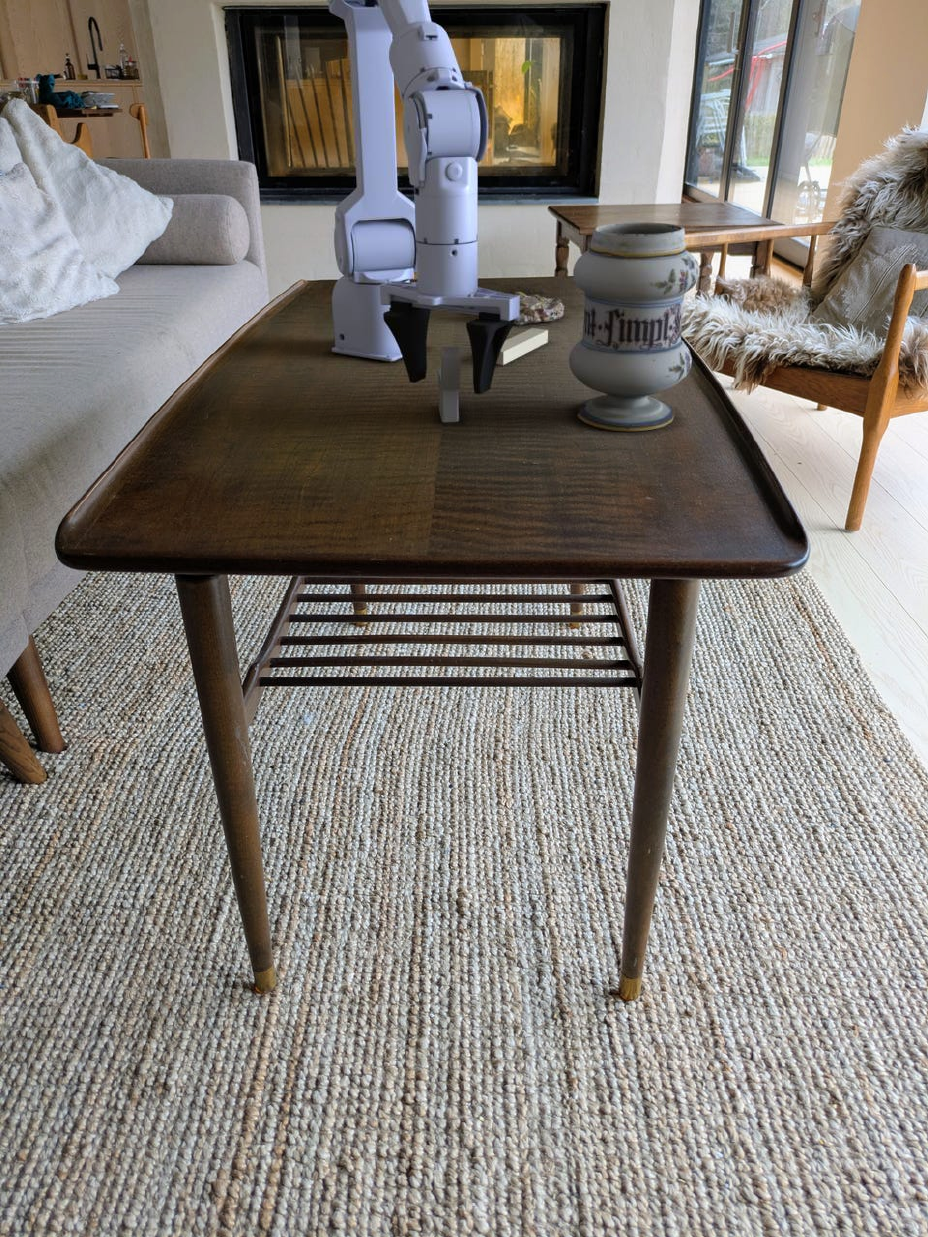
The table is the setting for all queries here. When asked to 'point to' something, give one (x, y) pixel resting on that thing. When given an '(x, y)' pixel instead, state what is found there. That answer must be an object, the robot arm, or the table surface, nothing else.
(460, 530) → the table surface
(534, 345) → the strip
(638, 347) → the apothecary jar
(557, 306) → the mineral rock
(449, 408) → the lighter
